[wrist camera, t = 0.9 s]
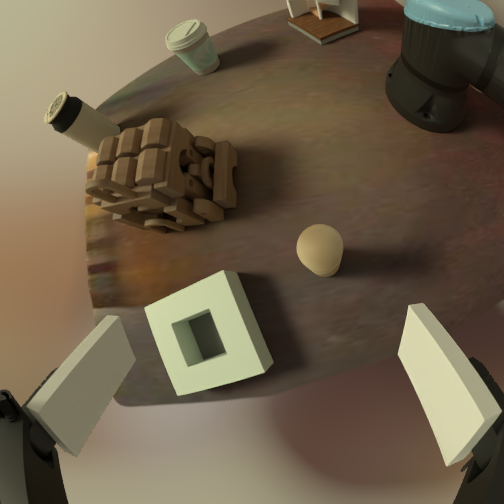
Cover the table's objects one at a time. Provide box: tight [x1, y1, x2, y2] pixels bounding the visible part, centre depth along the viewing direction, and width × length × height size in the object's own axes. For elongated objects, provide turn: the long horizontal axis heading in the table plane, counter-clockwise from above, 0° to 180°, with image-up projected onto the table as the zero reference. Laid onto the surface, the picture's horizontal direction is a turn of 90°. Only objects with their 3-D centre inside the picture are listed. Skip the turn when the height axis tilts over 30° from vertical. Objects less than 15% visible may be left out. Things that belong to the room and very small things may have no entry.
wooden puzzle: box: [86, 118, 237, 234], centre depth 36 cm, size 22×15×19 cm, turn 90°
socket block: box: [145, 270, 274, 396], centre depth 37 cm, size 14×14×5 cm
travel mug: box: [44, 91, 120, 153], centre depth 45 cm, size 8×8×18 cm
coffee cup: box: [165, 19, 220, 75], centre depth 42 cm, size 9×8×12 cm
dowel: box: [297, 224, 343, 277], centre depth 29 cm, size 4×4×14 cm
